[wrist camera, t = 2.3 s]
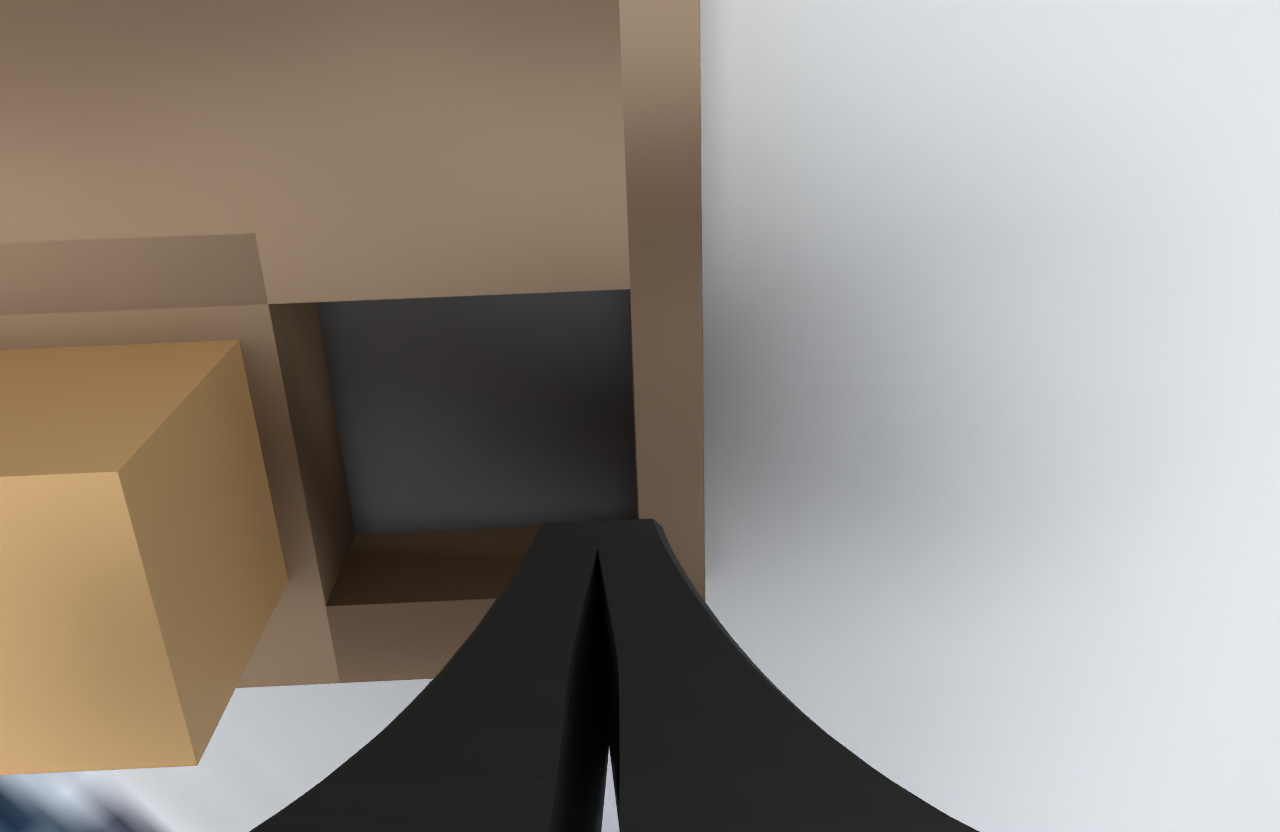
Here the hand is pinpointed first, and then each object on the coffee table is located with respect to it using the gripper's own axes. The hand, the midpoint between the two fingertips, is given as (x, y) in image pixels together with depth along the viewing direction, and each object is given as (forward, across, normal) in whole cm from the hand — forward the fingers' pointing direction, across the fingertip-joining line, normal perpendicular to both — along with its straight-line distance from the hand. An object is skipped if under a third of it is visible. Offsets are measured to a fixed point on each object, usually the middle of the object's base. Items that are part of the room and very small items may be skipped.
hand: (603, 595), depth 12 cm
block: (+4, +7, 0) cm, 8 cm away
